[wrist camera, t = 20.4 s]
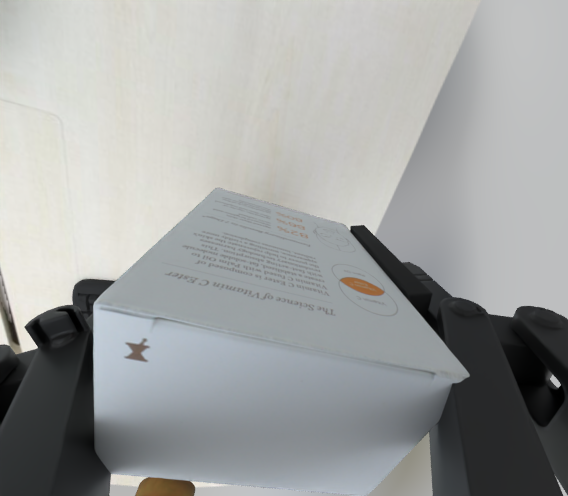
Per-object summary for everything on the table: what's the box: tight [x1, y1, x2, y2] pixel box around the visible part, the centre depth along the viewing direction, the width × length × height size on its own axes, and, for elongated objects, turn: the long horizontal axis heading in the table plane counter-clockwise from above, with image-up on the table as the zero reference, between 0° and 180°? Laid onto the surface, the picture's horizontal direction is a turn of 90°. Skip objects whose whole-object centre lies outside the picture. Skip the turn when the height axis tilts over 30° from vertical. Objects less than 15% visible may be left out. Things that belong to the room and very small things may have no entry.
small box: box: [93, 188, 470, 496], centre depth 10 cm, size 8×6×10 cm
